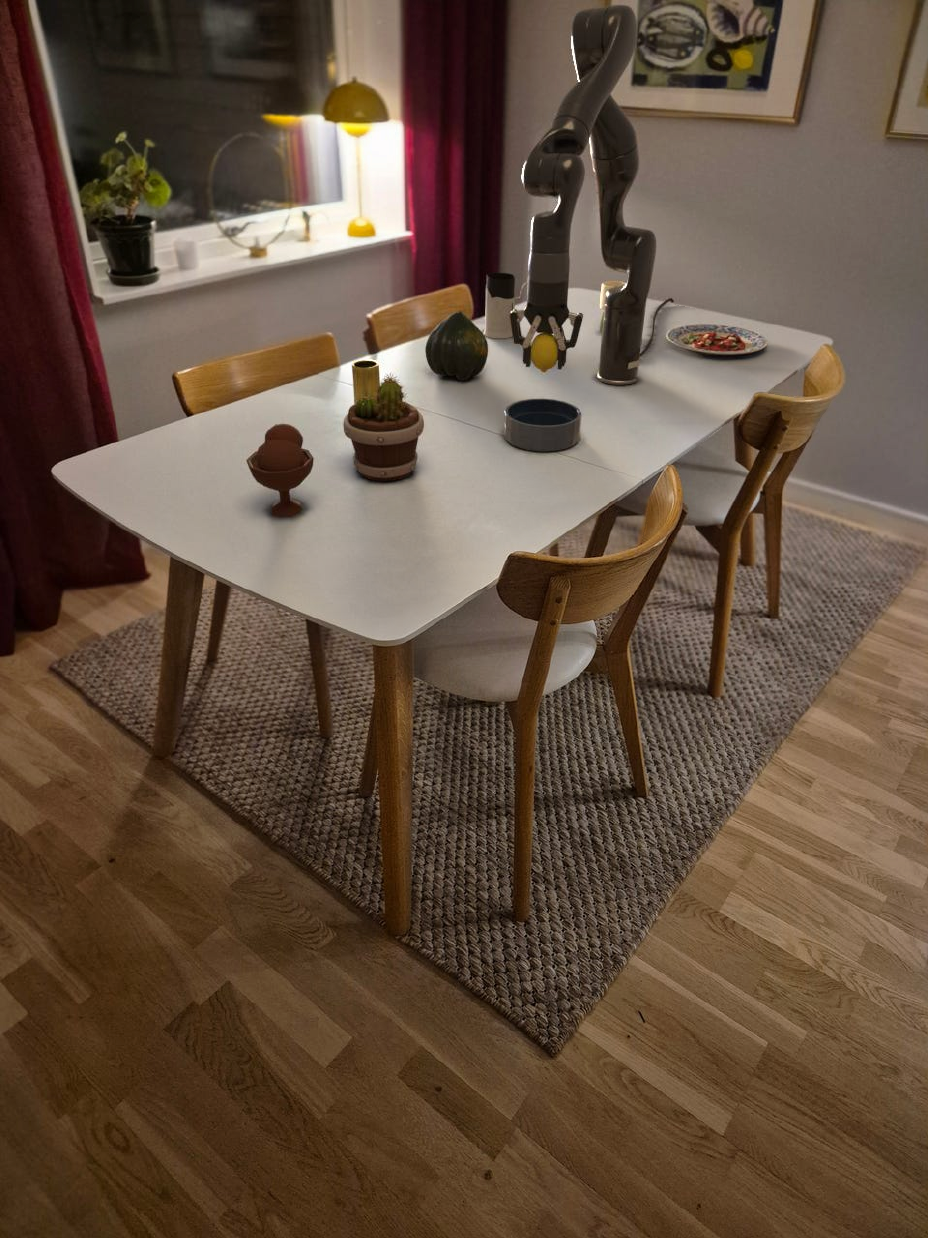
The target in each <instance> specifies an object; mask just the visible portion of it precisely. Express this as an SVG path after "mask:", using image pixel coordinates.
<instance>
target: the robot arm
mask: <svg viewBox="0 0 928 1238" xmlns="http://www.w3.org/2000/svg"><path fill="white" fill-rule="evenodd" d="M570 31H571V32H570V38H571V39H570V41H571V49H572V57H573V61H574V66H575V71H576V75H577V80H578V82H577V83H575V84H574V85H573V86H572V87H571V88H570V89H569V91H568V92H567V93H566V94H565V95H564V97H563V98H562V100H561V102H560V103H559V105H558V107H557V109H556V112H555V114H554V116H553V119H552V122H551V124H550V128H549V129H548V130H547V131H546V132H545V134H544V135H543V136H542V138H540V140H539V141H538V142H537V143H536V145H535V146H534V147H533V148H532V150H530V152H529V153H528V156H527V157H526V159H525V161H524V164H523V168H522V172H521V173H522V174H521V182H522V186H523V189H524V191H525V192H526V193H527V194H528V195H530V196H531V197H534V198H546V199H547V198H548V199H558V204H557V206H556V208H555V209H554V210H548V211H542V212H538V213H536V214H535V215H534V216H532V220H531V224H530V247H529V257H528V262H527V263H528V265H527V267H528V268H527V282H528V284H527V287H526V289H527V290H526V291H527V292H526V305H525V308H524V309H517V308H514V310H513V311H512V312H511V314H510V321H511V328H512V335H513V336H512V340H513V343H514V344H515V345H519V346H521V347H522V363H523V365H525V367H526V368H531V364H532V360H531V356H530V351H531V345H532V341H533V339H534V336H535V334H537V333H538V334H540V333H543V332H546V333H549V334H552V335H554V336H555V339H556V340H557V342H558V345H559V351H558V361H557V367H556V368H557V370H562V368H563V367H565V366H566V363H567V353H568V352H567V351H568V349H571V348H572V349H573V348H575V347H576V345H577V342H578V340H579V336H580V335H579V334H580V332H581V331H580V330H581V326H582V323H583V319H584V314H583V313H582V312H578V313H575V312H572V311H570V310H569V307H568V300H569V299H568V297H569V281H570V266H571V261H570V260H571V259H570V246H571V245H570V243H571V230H572V229H571V228H572V222H573V218H574V213H575V209H576V206H577V203H578V199H579V196H580V193H581V191H582V188H583V185H584V180H585V174H586V169H585V164H584V161H583V159H582V157H581V155H582V154H583V153H584V152H585V150H586V147H587V145H588V143H589V151H590V157H591V164H592V171H593V177H594V182H595V188H596V196H597V204H598V215H599V235H600V236H599V237H600V238H599V239H600V251H601V252H600V253H601V259H602V261H603V264H604V266H605V267H606V268H607V269H608V270H610V271H614V272H618V273H623V274H627V280H626V282H625V283H626V284H625V285H623V286H619V287H614V288H611V289H609V290H608V291H607V293H606V297H605V308H604V310H603V312H604V319H603V329H602V332H601V340H600V349H599V350H600V352H599V361H598V370H597V371H598V372H597V380H599V381H600V382H602V383H604V384H609V385H615V386H627V385H632V384H634V383H636V382H637V381H638V377H639V376H638V372H639V367H640V365H641V364H640V363H641V359H640V358H641V357H642V356H643V355H644V354H646V352H647V350H648V349H649V348H650V346H651V344H652V342H653V340H654V335H655V323H656V317H657V314H658V313H659V311H660V310H661V308H663V307H664V306H665V305H666V304H668V303H669V302H670V303H674V299H673V298H672V297H669V298H667V299H666V300H664V301H663V302H662V303H661V304H660V305H658V306H657V307H656V309H655V311H654V313H653V315H652V319H651V327H650V328H651V329H650V336H649V339H648V342H647V344H646V345H645V347H643V348H642V340H643V333H644V332H643V331H644V324H645V315H646V306H647V300H648V296H649V293H650V289H651V285H652V278H653V272H654V267H655V262H656V261H655V260H656V256H657V238H656V235H655V232H654V231H652V230H650V229H646V228H641V227H640V228H639V227H633V226H627V225H626V223H625V220H624V203H625V200H626V198H627V196H628V195H629V192H630V191H631V189H632V186H633V185H634V182H635V180H636V178H637V175H638V173H639V168H640V157H639V155H640V154H639V146H638V145H639V144H638V137H637V136H638V135H637V132H636V130H635V129H636V128H635V127H634V125H633V123H632V122H631V120H630V119H629V116H627V114H626V113H625V112H624V110H623V109H622V108H621V106H620V105H619V104H618V102H617V101H616V100H615V98H614V97H613V96H612V92H613V91H614V89H615V88H616V86H617V84H618V82H619V81H620V79H621V77H623V74H624V73H625V71H626V69H627V67H628V66H629V65H630V62H631V60H632V58H633V56H634V53H635V50H636V47H637V42H638V21H637V17H636V13H635V11H634V10H633V7H631V6H629V5H627V4H612V5H606V6H598V7H597V6H596V7H590V8H585V9H581V10H579V11H578V12H576V13H575V15H574V17H573V19H572V22H571V30H570ZM523 316H525V317H523ZM522 317H523V318H525V319H526V320H527V322H528V324H529V325H530V327H529V330H528V332H527V334H526V336H525V337H524V336H523V335H522V329H521V322H522V321H523V318H522ZM567 320H569V322H570V325H571V326H572V331H571V334H570V338H569V339H567V338H566V335H565V331H564V328H563V325H564V324H565V323H566V321H567ZM641 349H642V350H641Z"/></svg>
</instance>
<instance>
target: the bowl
mask: <svg viewBox="0 0 928 1238" xmlns="http://www.w3.org/2000/svg"><path fill="white" fill-rule="evenodd" d="M503 420H504V421H503V423H504V424H503V436H504V439H505V440H506V441H507V442H508V443H509V444H511V445H513V446H515V447H516V448H519V449H522V450H526V451H531V452H538V453H539V452H543V453H544V452H545V453H546V452H547V453H549V452H557V451H562V450H566V449H568V448H571V447H574V445H576V444H577V443H578V442H579V440H580V436H581V424H582V411H581V410H580V408H579V407H577V406H576V405H575V404H572V403H569V402H567V401H564V400H558V399H555V398H554V399H552V398H529V399H522V400H518V401H515V402H512V403H511V404H509V405H507V406H506V408H505V409H504V419H503Z"/></svg>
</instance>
